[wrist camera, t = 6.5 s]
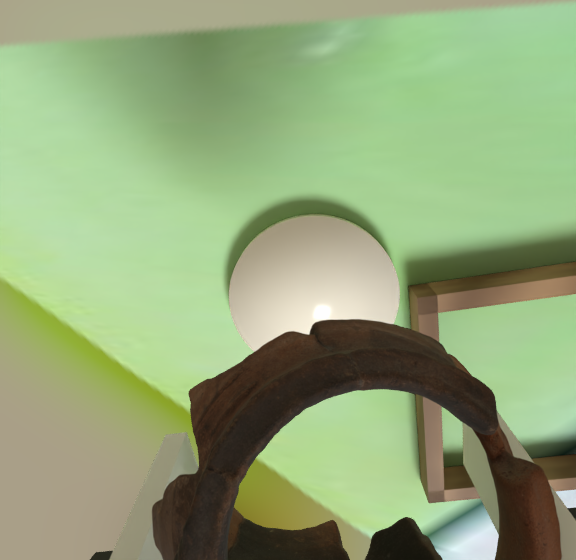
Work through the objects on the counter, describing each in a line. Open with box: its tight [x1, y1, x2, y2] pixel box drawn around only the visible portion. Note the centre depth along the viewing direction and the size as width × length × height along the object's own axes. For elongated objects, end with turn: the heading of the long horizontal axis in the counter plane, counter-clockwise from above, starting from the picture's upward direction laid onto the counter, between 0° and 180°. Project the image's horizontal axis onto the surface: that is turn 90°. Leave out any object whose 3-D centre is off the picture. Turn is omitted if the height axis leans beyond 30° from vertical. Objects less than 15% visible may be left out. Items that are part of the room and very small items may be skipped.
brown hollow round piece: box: [152, 319, 562, 560], centre depth 11 cm, size 12×10×8 cm
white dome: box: [229, 214, 400, 352], centre depth 25 cm, size 11×11×1 cm
